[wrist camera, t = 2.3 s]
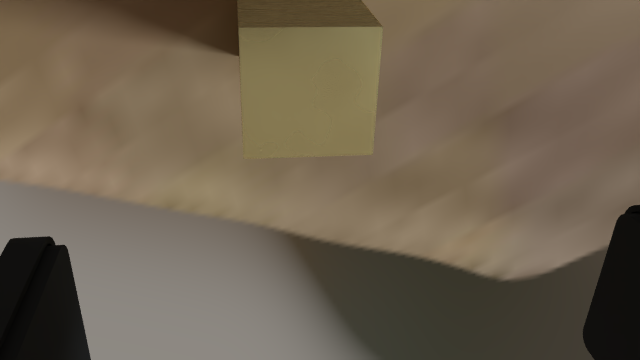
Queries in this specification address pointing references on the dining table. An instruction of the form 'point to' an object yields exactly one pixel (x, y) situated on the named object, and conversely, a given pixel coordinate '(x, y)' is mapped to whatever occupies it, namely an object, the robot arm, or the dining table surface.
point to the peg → (308, 77)
